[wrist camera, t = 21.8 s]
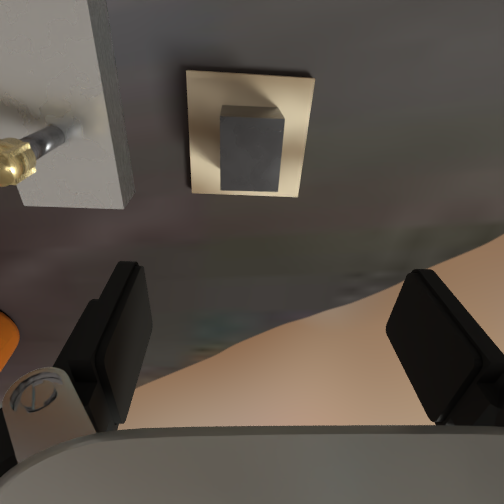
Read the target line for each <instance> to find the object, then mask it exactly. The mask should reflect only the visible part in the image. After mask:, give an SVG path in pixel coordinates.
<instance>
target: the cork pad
mask: <svg viewBox="0 0 504 504" xmlns="http://www.w3.org/2000/svg"><path fill="white" fill-rule="evenodd" d="M186 78H187V99H188V120H189V141H190V162H191V183H192V193H204V194H230V195H257V196H283V197H298V192H299V185H300V178H301V171H302V164H303V158H304V151H305V144H306V137H307V130H308V123H309V117H310V110H311V103H312V96H313V89H314V82H315V78H308V77H292V76H276V75H260V74H244V73H228V72H212V71H196V70H187V71H186ZM222 105H232V106H256V107H278V108H279V110H280V111H281V113H282V115H283V116H284V118H285V125H284V135H283V146H282V156H281V166H280V177H279V187H278V192H258V191H221V190H220V113H221V108H222Z"/></svg>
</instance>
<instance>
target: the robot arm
mask: <svg viewBox="0 0 504 504" xmlns="http://www.w3.org/2000/svg"><path fill="white" fill-rule="evenodd" d="M151 332H152V316H151V310H150V304H149V297H148V291H147V284H146V278H145V272H144V267H143V266H139V265H138V263H137V262H132V261H119V262H118V264H117V265H116V267H115V269H114V271H113V273H112V275H111V277H110V279H109V281H108V282H107V284H106V286H105V288H104V290H103V292H102V294H101V296H100V298H99V299H92V300H91V301H90V302H89V303H88V305H87V306H86V308H85V310H84V312H83V314H82V315H81V317H80V319H79V321H78V322H77V324H76V326H75V328H74V330H73V331H72V333H71V335H70V337H69V339H68V340H67V342H66V344H65V346H64V347H63V349H62V351H61V353H60V355H59V356H58V358H57V360H56V362H55V363H54V365H53V367H45V368H39V369H37V370H34V371H31V372H29V373H27V374H26V375H24V376H22V377H21V378H19V379H18V380H17V381H16V382H15V383H14V384H12V385H11V387H10V388H9V389H8V391H7V392H6V393H5V396H4V398H3V401H2V408H1V409H0V504H504V354H503V353H502V352H501V351H500V349H499V348H498V347H497V346H496V345H495V344H494V342H493V341H492V340H491V339H490V337H489V336H488V335H487V334H486V333H485V332H484V330H483V329H482V328H481V327H480V326H479V324H478V323H477V322H476V321H475V320H474V318H473V317H472V316H471V315H470V314H469V312H467V310H466V309H465V308H464V306H463V305H462V304H461V303H460V302H459V300H458V299H457V298H456V297H455V296H454V295H453V293H452V292H451V291H450V290H449V289H448V287H447V286H446V285H445V284H444V283H443V281H442V280H441V279H440V278H439V277H438V275H437V274H436V273H435V272H434V271H433V270H430V269H414V270H413V271H412V272H411V273H409V274H407V276H406V279H405V281H404V283H403V286H402V289H401V291H400V293H399V296H398V298H397V301H396V303H395V305H394V308H393V310H392V312H391V315H390V318H389V320H388V322H387V325H386V333H387V336H388V338H389V340H390V342H391V344H392V346H393V348H394V350H395V352H396V354H397V356H398V358H399V360H400V362H401V364H402V366H403V368H404V370H405V372H406V374H407V376H408V378H409V380H410V382H411V384H412V386H413V388H414V390H415V392H416V394H417V396H418V398H419V400H420V402H421V403H422V406H423V408H424V410H425V412H426V414H427V416H428V417H429V419H430V420H431V421H432V422H435V424H436V425H416V426H415V425H381V426H380V425H364V426H363V425H361V426H360V425H359V426H358V425H355V426H354V425H352V426H233V427H232V426H231V427H230V426H228V427H173V428H141V429H127V430H117V428H118V425H119V424H123V423H124V422H125V421H126V418H127V414H128V411H129V407H130V404H131V401H132V397H133V394H134V390H135V387H136V383H137V380H138V377H139V373H140V370H141V366H142V363H143V359H144V356H145V353H146V349H147V346H148V342H149V339H150V335H151Z"/></svg>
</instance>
